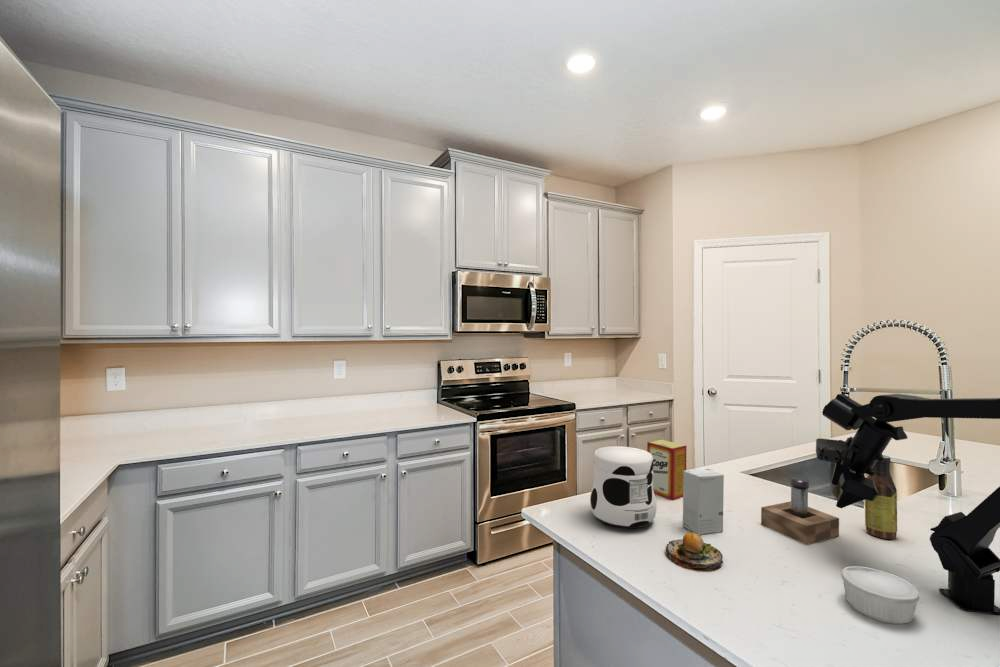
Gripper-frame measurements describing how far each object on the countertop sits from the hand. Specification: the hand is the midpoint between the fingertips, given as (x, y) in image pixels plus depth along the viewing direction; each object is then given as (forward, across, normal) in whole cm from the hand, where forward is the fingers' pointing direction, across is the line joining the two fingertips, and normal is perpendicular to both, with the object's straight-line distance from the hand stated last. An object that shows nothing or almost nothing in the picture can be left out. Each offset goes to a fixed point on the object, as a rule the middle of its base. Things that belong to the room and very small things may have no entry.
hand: (835, 495), depth 108 cm
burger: (+15, +26, -25) cm, 39 cm away
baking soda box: (+29, -11, -33) cm, 46 cm away
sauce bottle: (+11, -9, +15) cm, 21 cm away
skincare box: (+19, +10, -23) cm, 32 cm away
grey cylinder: (+15, -2, -2) cm, 15 cm away
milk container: (+24, +14, -42) cm, 51 cm away
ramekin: (+3, +28, +5) cm, 29 cm away
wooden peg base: (+15, -2, -2) cm, 15 cm away
